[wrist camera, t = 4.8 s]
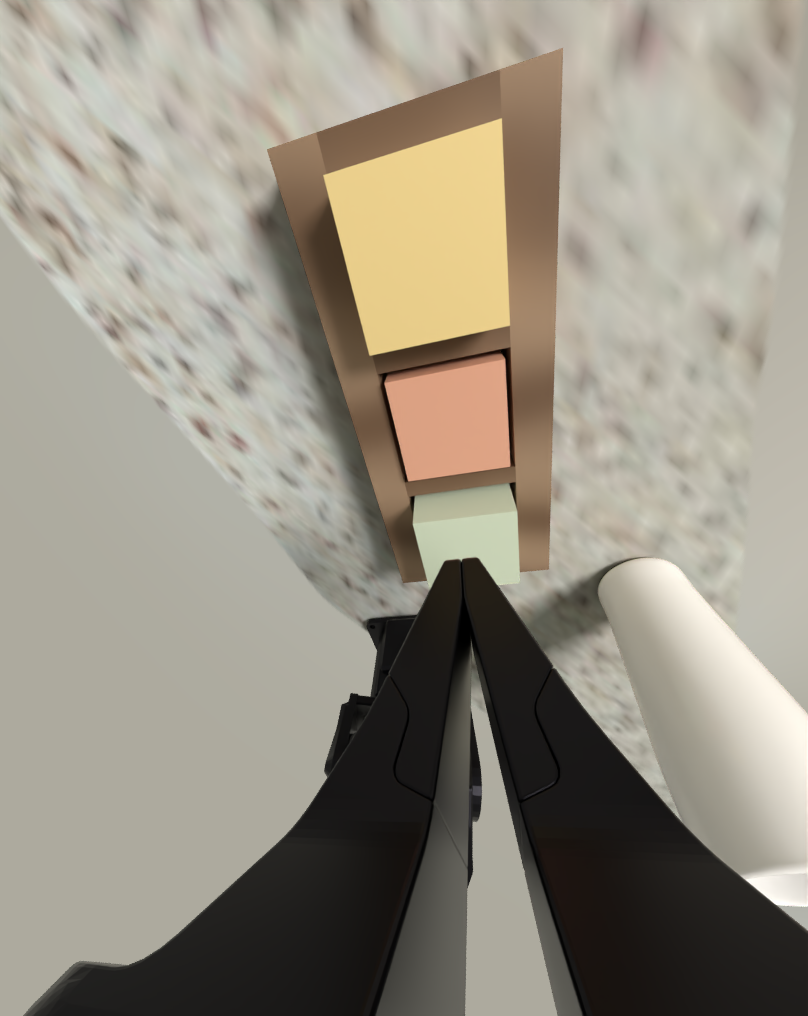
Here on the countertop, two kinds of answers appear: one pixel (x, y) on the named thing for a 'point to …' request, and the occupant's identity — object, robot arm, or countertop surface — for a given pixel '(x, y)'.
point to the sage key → (469, 530)
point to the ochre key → (426, 239)
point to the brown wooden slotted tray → (525, 343)
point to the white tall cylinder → (715, 726)
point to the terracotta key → (451, 415)
